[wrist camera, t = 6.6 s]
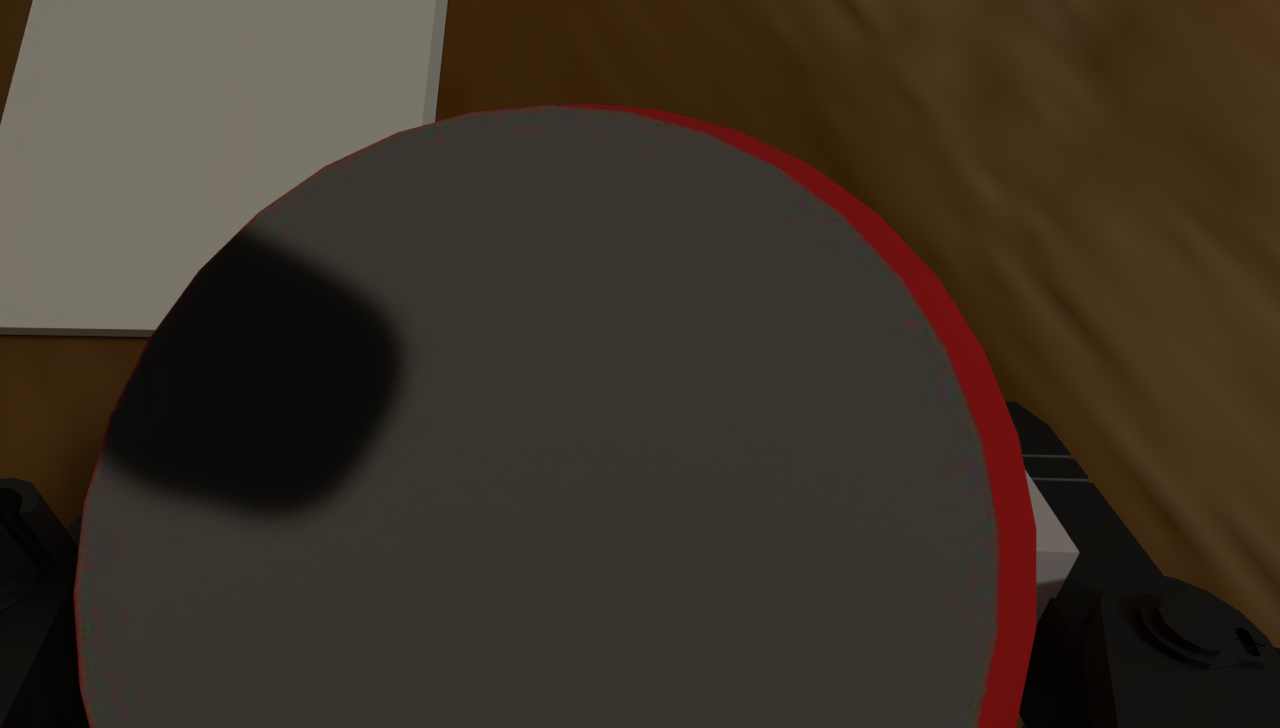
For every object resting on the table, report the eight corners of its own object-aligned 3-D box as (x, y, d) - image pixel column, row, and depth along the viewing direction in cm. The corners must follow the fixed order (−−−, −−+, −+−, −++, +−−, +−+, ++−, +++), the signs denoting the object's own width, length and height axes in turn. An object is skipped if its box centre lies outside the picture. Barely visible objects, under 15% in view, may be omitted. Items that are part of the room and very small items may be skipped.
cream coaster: (452, -46, 19) (443, -69, 18) (411, 341, 17) (398, 333, 16) (73, -40, 20) (48, -62, 19) (-20, 333, 17) (-53, 326, 17)
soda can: (563, 309, 17) (309, -133, 5) (838, 426, 16) (1314, 211, 4) (428, 585, 15) (-332, 849, 4) (718, 731, 14) (914, 1708, 3)
